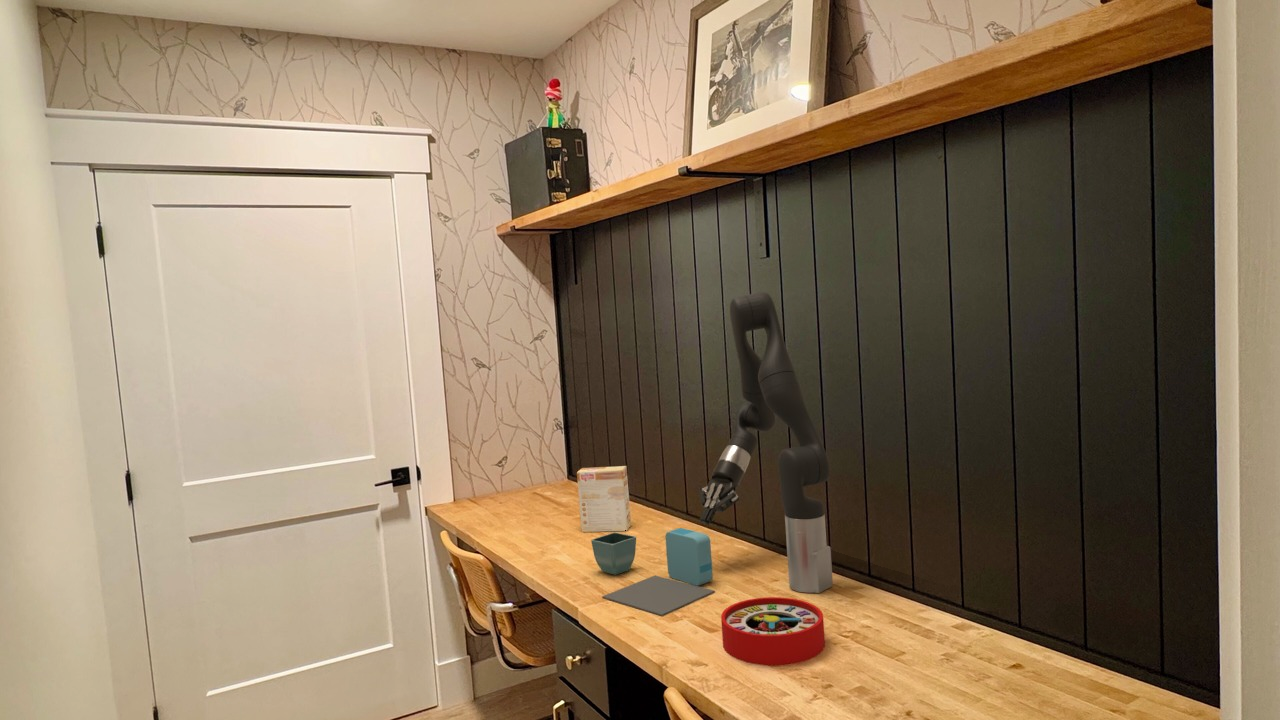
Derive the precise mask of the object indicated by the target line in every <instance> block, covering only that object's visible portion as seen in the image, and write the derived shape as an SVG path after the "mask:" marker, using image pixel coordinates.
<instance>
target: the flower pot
mask: <svg viewBox="0 0 1280 720" xmlns="http://www.w3.org/2000/svg"><path fill="white" fill-rule="evenodd" d="M590 541H591V546H592V552H593V556H594V559H595V562H596V564H597V565H598V567H599V569H600V570H601V571H602V572H603V573H606V574H610V575H615V576H617V575H620V574H622V573H624V572H625V573H626V572H627V571H630V568H631V567H632V566H633V563H634V560H635V557H636V550H637V549H636V548H637V536H635V535H630V534H623V533H620V532H616V531H613V532H610V533H608V534H605V535H602V536H598V537H595V538H593V539H592V538H591V540H590Z"/></svg>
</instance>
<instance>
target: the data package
mask: <svg viewBox="0 0 1280 720" xmlns="http://www.w3.org/2000/svg"><path fill="white" fill-rule="evenodd" d="M665 549H666V550H665V551H666V563H667V573H668V576H669V577H670V578H671V579H672V580H675V581H679V582H683V583H687V584H690V585H694V586H698V587H700V586H701V585H704V584H707V583H710V582H712V581H713V577H714V576H713V561H712V559H713V558H712V545H711V539H710V536H709V535H708V534H706V533H704V532H699V531H695V530H690V529H686V528H684V527H683V528H682V527H680V528H675V529H672V530H669V531H667V532H666V533H665Z"/></svg>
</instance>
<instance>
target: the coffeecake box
mask: <svg viewBox="0 0 1280 720" xmlns="http://www.w3.org/2000/svg"><path fill="white" fill-rule="evenodd" d="M627 468H628V467H627V465H621V466H620V465H619V466H598V467H596V466H595V467H581V468H580V469H579V470H578V471H577V472H576V480H577V492H578V504H579V505H578V506H579V513H580V514H579V517H580V527H581V533H592V532H593V533H598V532H599V533H601V532H604V533H605V532H628V530H629V529H630V528H629V527H631V526H632V520H631V517H632V516H631V507H630V493H629V491H630V490H629V480H628V469H627ZM625 530H626V531H625Z"/></svg>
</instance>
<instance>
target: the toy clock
mask: <svg viewBox="0 0 1280 720" xmlns="http://www.w3.org/2000/svg"><path fill="white" fill-rule="evenodd" d="M720 620H721V621H720V622H721V632H722V633H721V636H722V638H721V639H722V648H723V649H724V651H725V652H726V653H727V655H729V656H731V657H732V658H735V659H736V660H739V661H742V662H743V663H744V662H745V663H749V664H753V665H760V666H761V665H762V666H787V665H794V664H798V663H799V664H800V663H802V662H806V661H809V660H811V659H813V658H815V657H817V656H819V654H821V653H822V652H823V651H824V649H825V646H826V639H825V638H826V637H825V625H824V624H825V623H824V614H823V611H822V610H821V609H820V608H819V607H817V606H816V605H814V604H813V603H810V602H808V601H805V600H801V599H796V598H791V597H779V596H778V597H777V596H774V597H773V596H768V597H767V596H766V597H756V598H751V599H750V598H749V599H745V600H742V601H738V602H736V603H733V604H731V605H729V606H728V607H727V608H725V609H724V610H723V612H722V613H721V615H720Z"/></svg>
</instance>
